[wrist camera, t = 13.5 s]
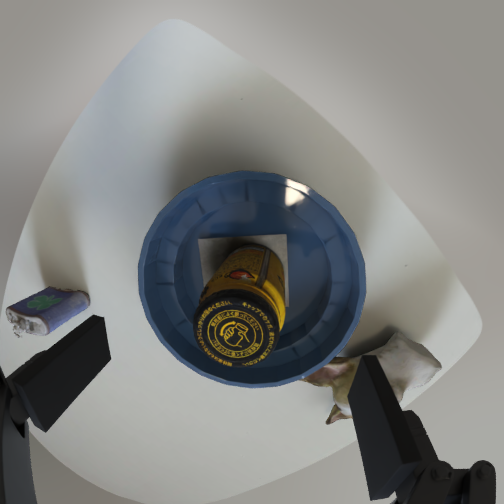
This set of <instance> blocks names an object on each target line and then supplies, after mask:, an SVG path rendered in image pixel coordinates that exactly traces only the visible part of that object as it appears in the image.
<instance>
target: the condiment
mask: <svg viewBox="0 0 504 504" xmlns="http://www.w3.org/2000/svg"><path fill="white" fill-rule="evenodd" d="M198 244H199V251H200V259H201V267H202V275H203V283H204V289H203V291H202V293H201V295H200V299H199V306H198V307H197V308H196V312H195V314H194V319H193V332H194V337H195V340H196V342H197V344H198V346H199V348H200V349H201V350H202V351H203V352H204V353H205V354H206V355H207V356H208V357H209V358H210V359H212V360H214V361H216V362H218V363H220V364H223V365H225V366H229V367H238V368H241V367H251V366H253V365H255V364H257V363H260V362H263V361H264V360H266V359H267V358H268V357H269V356H270V354H271V353H272V352H273V350H274V349H275V347H276V345H277V342H278V340H279V337H280V330H281V329H282V327H283V324H284V319H285V312H286V308H285V307H289V289H288V260H287V237H286V234H280V235H258V236H240V237H223V238H209V239H198Z"/></svg>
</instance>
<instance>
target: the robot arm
mask: <svg viewBox="0 0 504 504" xmlns="http://www.w3.org/2000/svg"><path fill="white" fill-rule="evenodd" d="M110 360H111V355H110V350H109V345H108V339H107V333H106V327H105V320H104V317H100V316H97V315H92V316H91V317H89V318H88V319H87V320H85V321H84V322H83V323H81V324H80V325H79V326H77V327H76V328H75V329H74V330H72V331H71V332H70V333H68V334H67V335H66V336H64V337H63V338H62V339H61V340H59V341H58V342H57V343H56V344H54V345H53V346H52V347H50V348H49V349H48V350H47V351H46V350H44V351H42V352H39V353H37V354H35V355H34V356H33V357H32V358H30V360H28V361H27V362H25V364H23V365H22V366H20V367H19V368H18V369H17V370H15V371H14V372H13V373H12V374H11V375H9V376H8V377H7V378H5V376H4V374H3V371H2V369H1V367H0V504H37V501H36V495H35V490H34V484H33V477H32V469H31V461H30V460H31V459H30V447H29V426H28V422H27V419H28V418H29V417H30V418H31V420H32V422H33V424H34V425H35V426H36V427H38V428H39V429H41V430H42V431H44V432H45V433H46V432H47V431H48V430H49V429H50V427H51V426H52V425H53V424H54V423H55V422H56V420H57V419H58V418H59V417H60V416H61V415H62V414H63V412H64V411H65V410H66V409H67V408H68V407H69V406H70V404H71V403H72V402H73V401H74V400H75V399H76V398H77V397H78V395H79V394H80V393H81V392H82V391H83V390H84V389H85V388H86V386H87V385H88V384H89V383H90V382H91V381H92V380H93V379H94V378H95V377H96V375H97V374H98V373H99V372H100V371H101V370H102V369H103V368H104V367H105V366H106V364H107V363H108V362H109V361H110ZM347 398H348V402H349V406H350V410H351V414H352V418H353V422H354V426H355V430H356V434H357V439H358V443H359V447H360V451H361V456H362V461H363V466H364V471H365V475H366V480H367V485H368V491H369V496H370V500H371V501H372V500H378V499H384V498H388V497H389V496H390V495H391V494H392V493H393V492H394V491H395V492H396V496H397V498H396V499H395V500H394V501H393V502H392V503H390V504H495V503H496V473H495V468H494V466H493V465H492V464H491V463H490V462H488V461H485V460H481V461H477V462H476V463H475V464H473V466H472V467H471V468H470V469H453V468H452V467H451V465H450V464H448V463H447V462H445V461H440V460H438V457H437V455H436V453H435V450H434V448H433V446H432V444H431V442H430V439H429V437H428V435H426V430H425V428H423V424H422V422H421V420H420V418H419V417H418V416H417V415H416V414H415V413H414V412H413V411H412V410H407V411H402V409H401V407H400V405H399V402H398V400H397V398H396V396H395V394H394V392H393V389H392V387H391V385H390V383H389V381H388V379H387V377H386V375H385V372H384V370H383V368H382V366H381V364H380V362H379V360H378V358H377V356H376V355H362V356H361V359H360V362H359V365H358V368H357V371H356V374H355V376H354V379H353V382H352V385H351V387H350V390H349V393H348V395H347Z"/></svg>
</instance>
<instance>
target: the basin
mask: <svg viewBox="0 0 504 504" xmlns="http://www.w3.org/2000/svg"><path fill="white" fill-rule="evenodd" d="M280 234H286V237H287V260H288V289H289V307H285V308H286V312H285V319H284V324H283V327H282V329H281V330H280V337H279V340H278V342H277V345H276V347H275V349H274V350H273V352H272V353H271V354H270V356H269V357H268V358H267V359H266V360H264V361H263V362H260V363H257V364H255V365H253V366H251V367H241V368H238V367H229V366H225V365H223V364H220V363H218V362H216V361H214V360H212V359H210V358H209V357H208V356H207V355H206V354H205V353H204V352H203V351H202V350H201V349H200V348H199V346H198V344H197V342H196V340H195V337H194V332H193V319H194V314H195V312H196V308H197V307H198V306H199V299H200V295H201V293H202V291H203V289H204V283H203V275H202V267H201V259H200V251H199V244H198V239H209V238H223V237H240V236H258V235H280ZM138 285H139V295H140V299H141V302H142V306H143V309H144V312H145V315H146V318H147V320H148V322H149V324H150V325H151V327H152V329H153V331H154V332H155V334H156V336H157V337H158V339H159V340H160V341H161V343H162V344H163V345H164V346H165V347H166V348H167V349H168V350H169V351H170V352H171V353H172V355H173V356H174V357H175V358H176V359H177V360H179V361H180V362H181V363H183V364H184V365H186V366H187V367H189V368H190V369H192V370H193V371H195V372H196V373H198V374H200V375H201V376H204V377H206V378H209V379H212V380H214V381H217V382H220V383H222V384H226V385H231V386H238V387H245V388H265V387H277V386H281V385H285V384H288V383H291V382H294V381H297V380H300V379H303V378H305V377H307V376H309V375H310V374H312V373H314V372H315V371H317V370H319V369H320V368H322V367H324V366H325V365H327V364H328V363H329V362H330V361H331V360H332V359H333V358H334V357H335V356H336V355H337V354H338V353H339V352H340V351H341V350H342V349H343V348H344V347H345V346H346V344H347V342H348V341H349V339H350V337H351V335H352V334H353V332H354V330H355V328H356V326H357V325H358V323H359V320H360V317H361V313H362V309H363V305H364V301H365V296H366V273H365V262H364V259H363V256H362V253H361V250H360V247H359V245H358V242H357V239H356V236H355V234H354V232H353V231H352V229H351V228H350V226H349V225H348V224H347V222H346V221H345V219H344V218H343V217H342V215H341V214H340V213H339V211H338V210H337V209H336V207H335V206H334V205H332V204H331V203H330V202H328V201H327V200H326V199H325V198H323V197H322V196H321V195H319V194H318V193H317V192H315V191H314V190H313V189H311V188H310V187H309V186H307V185H304V184H302V183H299V182H297V181H294V180H291V179H289V178H286V177H284V176H281V175H278V174H275V173H266V172H254V171H236V172H231V173H226V174H221V175H216V176H211V177H208V178H206V179H204V180H202V181H200V182H198V183H196V184H194V185H192V186H190V187H188V188H187V189H185V190H183V191H181V192H180V193H179V194H178V195H177V196H176V197H175V198H173V199H172V200H171V201H170V202H169V203H168V204H167V205H166V206H165V207H164V208H163V209H162V210H161V211H160V212H159V213H158V215H157V217H156V218H155V220H154V222H153V224H152V225H151V227H150V229H149V231H148V233H147V234H146V236H145V239H144V242H143V246H142V250H141V254H140V259H139V263H138Z"/></svg>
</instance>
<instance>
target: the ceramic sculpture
mask: <svg viewBox="0 0 504 504" xmlns="http://www.w3.org/2000/svg"><path fill="white" fill-rule="evenodd" d="M362 355H376V356H377V358H378V360H379V362H380V364H381V366H382V368H383V370H384V372H385V375H386V377H387V379H388V381H389V383H390V385H391V387H392V389H393V392H394V394H395V396H396V398H397V400H398V402H401V400H402V398H403V394H404V392H406V391H408V390H410V389H412V388H415V387H419V386H422V385H423V384H425V383H427V382H429V381H430V380H431V378H432V377H433V376H434V375H435V374H436V373H437V372H438V371H439V370H441V368H442V366H441V364H440V362H439V361H438V360H437V359H436V358H435V357H434V356H433V355H432V354H431V353H430V352H429V351H428V350H427V349H426V348H425V347H424V346H423V345H422V344H419V343H416V342H413V341H411V340H410V339H408V338H407V337H406V336H404V335H403V334H402V333H400V332H396V333H394V334H393V335H392V337H391V338H390V339H389V341H388V342H387V343H386V344H385V345H384V346H383V347H380V348H378V349H375V350H373V351H371V352H368V353H366V354H362ZM362 355H360V356H357V357H355V358H351V357H334V358H333V359H332V360H331V361H330V362H329V363H328V364H327V365H325V366H324V367H322V368H320V369H319V370H317V371H315V372H314V373H312V374H310V375H309V376H307V377H305V378H303V379H300V380H302V381H305V382H308V383H311V384H313V385H315V386H320V387H322V386H324V387H329V386H331V387H332V389H333V398H334V401H335V405H334V407H333V409H332V411H331V413H330V415H329V417H328V419H327V421H326V425H328V424H331V423H333V422H335V421H337V420H339V419H348V418H352V414H351V410H350V406H349V402H348V398H347V395H348V393H349V390H350V387H351V385H352V382H353V379H354V376H355V374H356V371H357V368H358V365H359V362H360V359H361V356H362ZM352 419H353V418H352Z"/></svg>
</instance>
